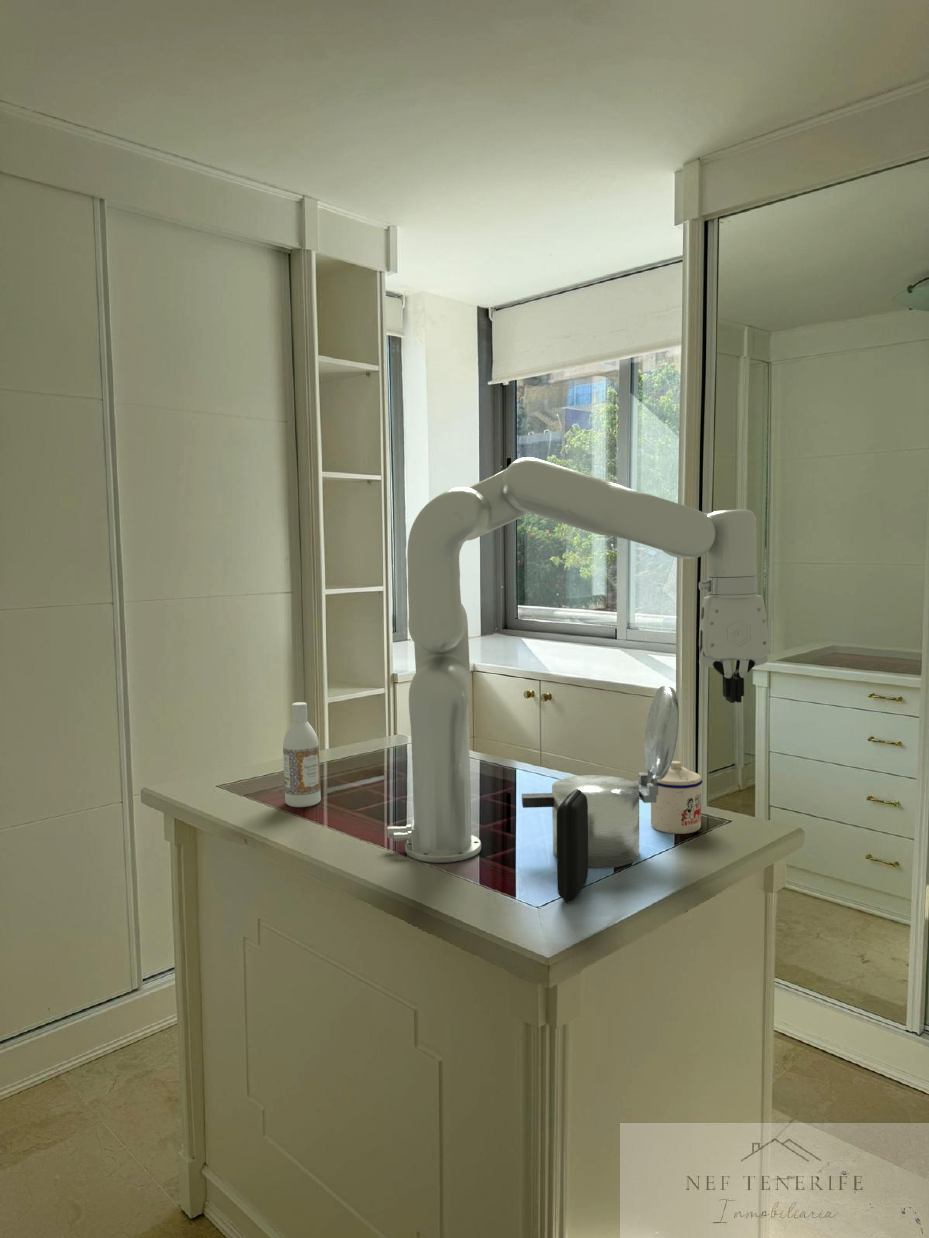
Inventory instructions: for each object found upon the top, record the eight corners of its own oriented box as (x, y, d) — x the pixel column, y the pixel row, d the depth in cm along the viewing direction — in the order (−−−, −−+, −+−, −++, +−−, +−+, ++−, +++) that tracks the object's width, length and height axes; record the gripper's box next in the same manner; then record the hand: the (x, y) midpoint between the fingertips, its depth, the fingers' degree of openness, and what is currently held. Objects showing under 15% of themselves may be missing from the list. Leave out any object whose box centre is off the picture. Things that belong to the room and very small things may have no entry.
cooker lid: (676, 695, 136) (697, 698, 136) (654, 679, 151) (672, 682, 151) (658, 796, 137) (679, 799, 138) (638, 771, 152) (656, 774, 152)
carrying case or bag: (572, 877, 135) (571, 783, 134) (592, 880, 134) (591, 784, 133) (554, 905, 125) (553, 803, 124) (576, 908, 124) (575, 805, 123)
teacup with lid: (690, 838, 152) (690, 771, 150) (640, 828, 157) (640, 764, 156) (715, 819, 161) (716, 756, 160) (668, 811, 167) (668, 750, 165)
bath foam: (298, 810, 172) (294, 708, 170) (278, 803, 177) (274, 703, 175) (327, 802, 177) (324, 702, 175) (307, 795, 182) (304, 698, 180)
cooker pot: (527, 870, 139) (525, 795, 138) (519, 839, 153) (518, 771, 151) (662, 866, 139) (662, 791, 138) (643, 836, 153) (643, 767, 152)
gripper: (691, 591, 138) (693, 707, 140) (787, 587, 139) (788, 703, 140) (679, 588, 146) (681, 698, 147) (770, 584, 146) (771, 695, 148)
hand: (733, 700), depth 144 cm, fingers closed
